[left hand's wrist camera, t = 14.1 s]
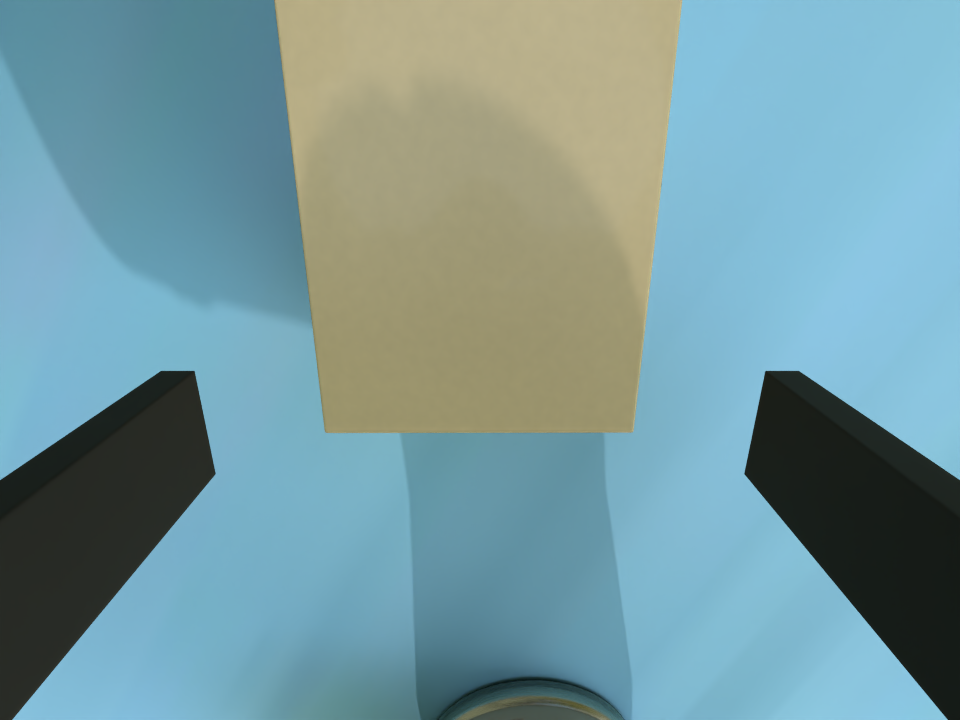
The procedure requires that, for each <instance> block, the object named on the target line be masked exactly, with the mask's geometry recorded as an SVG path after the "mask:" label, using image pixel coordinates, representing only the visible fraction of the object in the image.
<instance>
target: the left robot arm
mask: <svg viewBox="0 0 960 720" xmlns="http://www.w3.org/2000/svg"><path fill="white" fill-rule="evenodd" d="M214 475H215V469H214V464H213V459H212V454H211V449H210V444H209V440H208V435H207V430H206V425H205V420H204V415H203V410H202V405H201V400H200V396H199V391H198V386H197V381H196V376H195V371H160V372H159V373H158V374H156V375H155V376H153V377H152V378H150V379H149V380H147V381H146V382H144V383H143V384H141V385H140V386H138V387H137V388H135V389H134V390H132V391H131V392H130V393H128V394H127V395H125V396H124V397H122V398H121V399H119V400H118V401H116V402H115V403H113V404H112V405H110V406H109V407H107V408H106V409H104V410H103V411H102V412H100V413H99V414H97V415H96V416H94V417H93V418H91V419H90V420H88V421H87V422H85V423H84V424H82V425H81V426H79V427H78V428H76V429H75V430H74V431H72V432H71V433H69V434H68V435H66V436H65V437H63V438H62V439H60V440H59V441H57V442H56V443H54V444H53V445H51V446H50V447H48V448H47V449H46V450H44V451H43V452H41V453H40V454H38V455H37V456H35V457H34V458H32V459H31V460H29V461H28V462H26V463H25V464H23V465H22V466H21V467H19V468H18V469H16V470H15V471H13V472H12V473H10V474H9V475H7V476H6V477H4V478H3V479H1V480H0V720H12V719H13V718H14V717H15V716H16V714H17V713H18V712H19V711H20V710H21V708H22V707H23V706H24V705H25V704H26V702H27V701H28V700H29V699H30V698H31V696H32V695H33V694H34V693H35V691H36V690H37V689H38V688H39V687H40V685H41V684H42V683H43V682H44V681H45V679H46V678H47V677H48V676H49V675H50V673H51V672H52V671H53V670H54V669H55V667H56V666H57V665H58V664H59V662H60V661H61V660H62V659H63V658H64V656H65V655H66V654H67V653H68V652H69V650H70V649H71V648H72V647H73V646H74V644H75V643H76V642H77V641H78V640H79V638H80V637H81V636H82V635H83V634H84V632H85V631H86V630H87V629H88V627H89V626H90V625H91V624H92V623H93V621H94V620H95V619H96V618H97V617H98V615H99V614H100V613H101V612H102V611H103V609H104V608H105V607H106V606H107V605H108V603H109V602H110V601H111V600H112V598H113V597H114V596H115V595H116V594H117V592H118V591H119V590H120V589H121V588H122V586H123V585H124V584H125V583H126V582H127V580H128V579H129V578H130V577H131V576H132V574H133V573H134V572H135V571H136V569H137V568H138V567H139V566H140V565H141V563H142V562H143V561H144V560H145V559H146V557H147V556H148V555H149V554H150V553H151V551H152V550H153V549H154V548H155V547H156V545H157V544H158V543H159V542H160V541H161V539H162V538H163V537H164V536H165V534H166V533H167V532H168V531H169V530H170V528H171V527H172V526H173V525H174V524H175V522H176V521H177V520H178V519H179V518H180V516H181V515H182V514H183V513H184V512H185V510H186V509H187V508H188V507H189V505H190V504H191V503H192V502H193V501H194V499H195V498H196V497H197V496H198V495H199V493H200V492H201V491H202V490H203V489H204V487H205V486H206V485H207V484H208V483H209V481H210V480H211V479H212V478H213V476H214ZM745 475H746V476H747V478H748V479H749V480H750V481H751V483H752V484H753V485H754V486H755V487H756V489H757V490H758V491H759V492H760V493H761V495H762V496H763V497H764V498H765V499H766V501H767V502H768V503H769V504H770V505H771V507H772V508H773V509H774V510H775V512H776V513H777V514H778V515H779V516H780V518H781V519H782V520H783V521H784V522H785V524H786V525H787V526H788V527H789V528H790V530H791V531H792V532H793V533H794V534H795V536H796V537H797V538H798V539H799V541H800V542H801V543H802V544H803V545H804V547H805V548H806V549H807V550H808V551H809V553H810V554H811V555H812V556H813V557H814V559H815V560H816V561H817V562H818V563H819V565H820V566H821V567H822V568H823V569H824V571H825V572H826V573H827V574H828V576H829V577H830V578H831V579H832V580H833V582H834V583H835V584H836V585H837V586H838V588H839V589H840V590H841V591H842V592H843V594H844V595H845V596H846V597H847V598H848V600H849V601H850V602H851V603H852V605H853V606H854V607H855V608H856V609H857V611H858V612H859V613H860V614H861V615H862V617H863V618H864V619H865V620H866V621H867V623H868V624H869V625H870V626H871V627H872V629H873V630H874V631H875V632H876V634H877V635H878V636H879V637H880V638H881V640H882V641H883V642H884V643H885V644H886V646H887V647H888V648H889V649H890V650H891V652H892V653H893V654H894V655H895V656H896V658H897V659H898V660H899V661H900V662H901V664H902V665H903V666H904V667H905V669H906V670H907V671H908V672H909V673H910V675H911V676H912V677H913V678H914V679H915V681H916V682H917V683H918V684H919V685H920V687H921V688H922V689H923V690H924V691H925V693H926V694H927V695H928V696H929V698H930V699H931V700H932V701H933V702H934V704H935V705H936V706H937V707H938V708H939V710H940V711H941V712H942V713H943V714H944V716H945V717H946V718H947V719H948V720H960V480H959V479H957V478H956V477H954V476H953V475H951V474H950V473H948V472H947V471H945V470H944V469H942V468H941V467H939V466H938V465H937V464H935V463H934V462H932V461H931V460H929V459H928V458H926V457H925V456H923V455H922V454H920V453H919V452H917V451H916V450H914V449H913V448H911V447H910V446H909V445H907V444H906V443H904V442H903V441H901V440H900V439H898V438H897V437H895V436H894V435H892V434H891V433H889V432H888V431H886V430H885V429H884V428H882V427H881V426H879V425H878V424H876V423H875V422H873V421H872V420H870V419H869V418H867V417H866V416H864V415H863V414H861V413H860V412H858V411H857V410H856V409H854V408H853V407H851V406H850V405H848V404H847V403H845V402H844V401H842V400H841V399H839V398H838V397H836V396H835V395H833V394H832V393H830V392H829V391H828V390H826V389H825V388H823V387H822V386H820V385H819V384H817V383H816V382H814V381H813V380H811V379H810V378H808V377H807V376H805V375H804V374H802V373H801V372H800V371H765V376H764V381H763V386H762V391H761V396H760V400H759V405H758V410H757V415H756V420H755V425H754V430H753V435H752V439H751V444H750V449H749V454H748V459H747V464H746V469H745ZM438 720H624V719H623V717H622V716H621V715H620V714H619V712H618V711H617V710H616V709H615V708H614V707H613V706H611V705H610V704H609V703H608V702H606V701H605V700H603V699H602V698H600V697H599V696H597V695H595V694H593V693H591V692H589V691H586V690H584V689H581V688H578V687H575V686H572V685H568V684H564V683H559V682H553V681H542V680H525V681H514V682H507V683H502V684H497V685H494V686H490V687H487V688H484V689H481V690H478V691H476V692H474V693H472V694H470V695H468V696H466V697H464V698H462V699H461V700H459V701H458V702H456V703H455V704H453V705H452V706H451V707H450V708H449V709H447V710H446V711H445V712H444V713H443V714H442V716H441V717H440V718H439V719H438Z"/></svg>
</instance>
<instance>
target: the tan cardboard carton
mask: <svg viewBox="0 0 960 720" xmlns="http://www.w3.org/2000/svg"><path fill="white" fill-rule="evenodd" d="M274 2H275V11H276V19H277V28H278V36H279V45H280V54H281V62H282V71H283V79H284V88H285V96H286V105H287V113H288V122H289V130H290V139H291V147H292V156H293V164H294V173H295V181H296V190H297V198H298V207H299V215H300V224H301V232H302V241H303V249H304V258H305V266H306V275H307V283H308V292H309V300H310V309H311V317H312V326H313V334H314V343H315V351H316V360H317V368H318V377H319V385H320V394H321V403H322V411H323V420H324V428H325V432H326V433H589V432H633V430H634V421H635V413H636V404H637V395H638V386H639V377H640V368H641V360H642V351H643V342H644V333H645V324H646V315H647V306H648V298H649V289H650V280H651V271H652V262H653V253H654V245H655V236H656V227H657V218H658V209H659V200H660V192H661V183H662V174H663V165H664V156H665V147H666V139H667V130H668V121H669V112H670V103H671V94H672V86H673V77H674V68H675V59H676V50H677V41H678V33H679V24H680V15H681V6H682V0H274Z"/></svg>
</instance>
